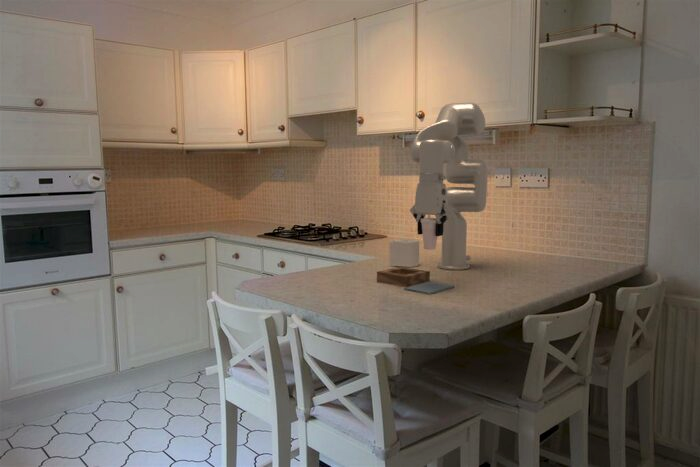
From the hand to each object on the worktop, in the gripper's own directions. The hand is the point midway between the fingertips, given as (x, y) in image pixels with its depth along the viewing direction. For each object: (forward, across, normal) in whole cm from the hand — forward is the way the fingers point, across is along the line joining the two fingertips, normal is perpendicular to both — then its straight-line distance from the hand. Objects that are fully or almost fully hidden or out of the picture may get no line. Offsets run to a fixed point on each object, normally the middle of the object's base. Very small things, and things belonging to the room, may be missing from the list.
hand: (430, 234), depth 173 cm
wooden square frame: (+18, +13, -3) cm, 22 cm away
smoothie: (+5, 0, 0) cm, 5 cm away
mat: (+18, 0, 0) cm, 18 cm away
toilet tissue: (+18, +32, -29) cm, 47 cm away
